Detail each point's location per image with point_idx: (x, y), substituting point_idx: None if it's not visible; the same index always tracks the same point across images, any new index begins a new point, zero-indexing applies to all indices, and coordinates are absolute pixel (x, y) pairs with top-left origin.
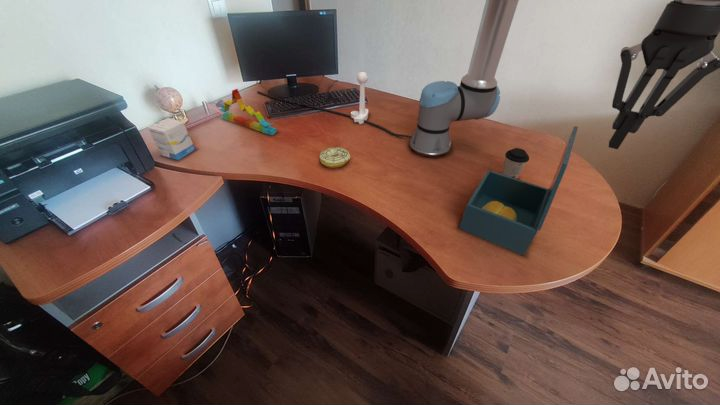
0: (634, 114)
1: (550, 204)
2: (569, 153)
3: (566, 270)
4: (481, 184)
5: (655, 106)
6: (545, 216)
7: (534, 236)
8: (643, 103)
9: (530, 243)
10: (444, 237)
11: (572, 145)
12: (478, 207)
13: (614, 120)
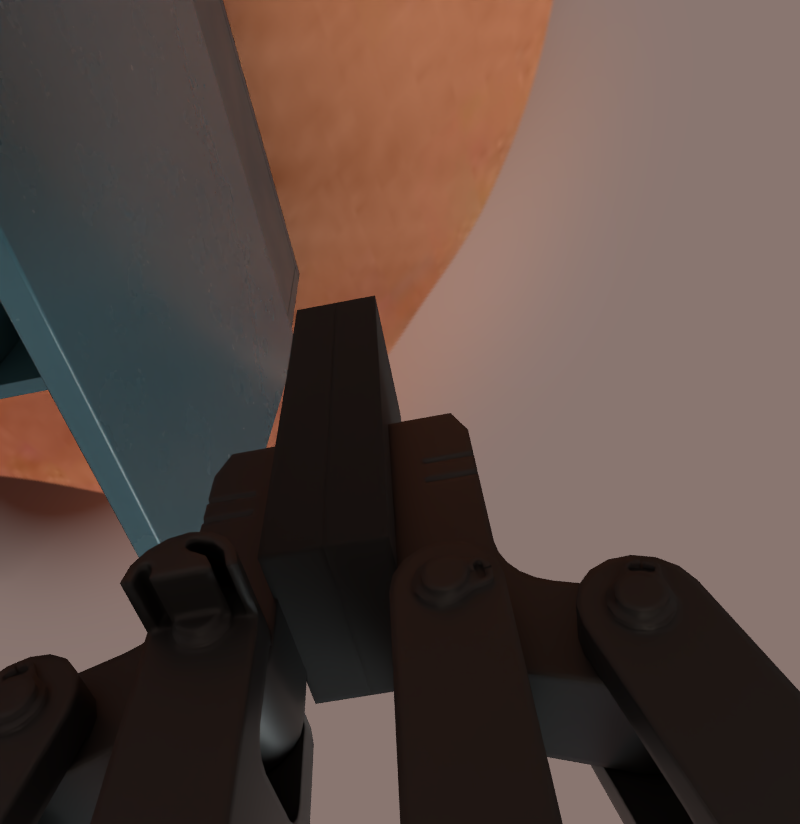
0: (369, 628)
1: (267, 439)
2: (143, 524)
3: (450, 226)
4: None
5: (583, 683)
6: (280, 393)
7: (291, 326)
8: (397, 698)
9: (294, 306)
10: (42, 402)
11: (84, 400)
12: (20, 384)
13: (209, 513)
